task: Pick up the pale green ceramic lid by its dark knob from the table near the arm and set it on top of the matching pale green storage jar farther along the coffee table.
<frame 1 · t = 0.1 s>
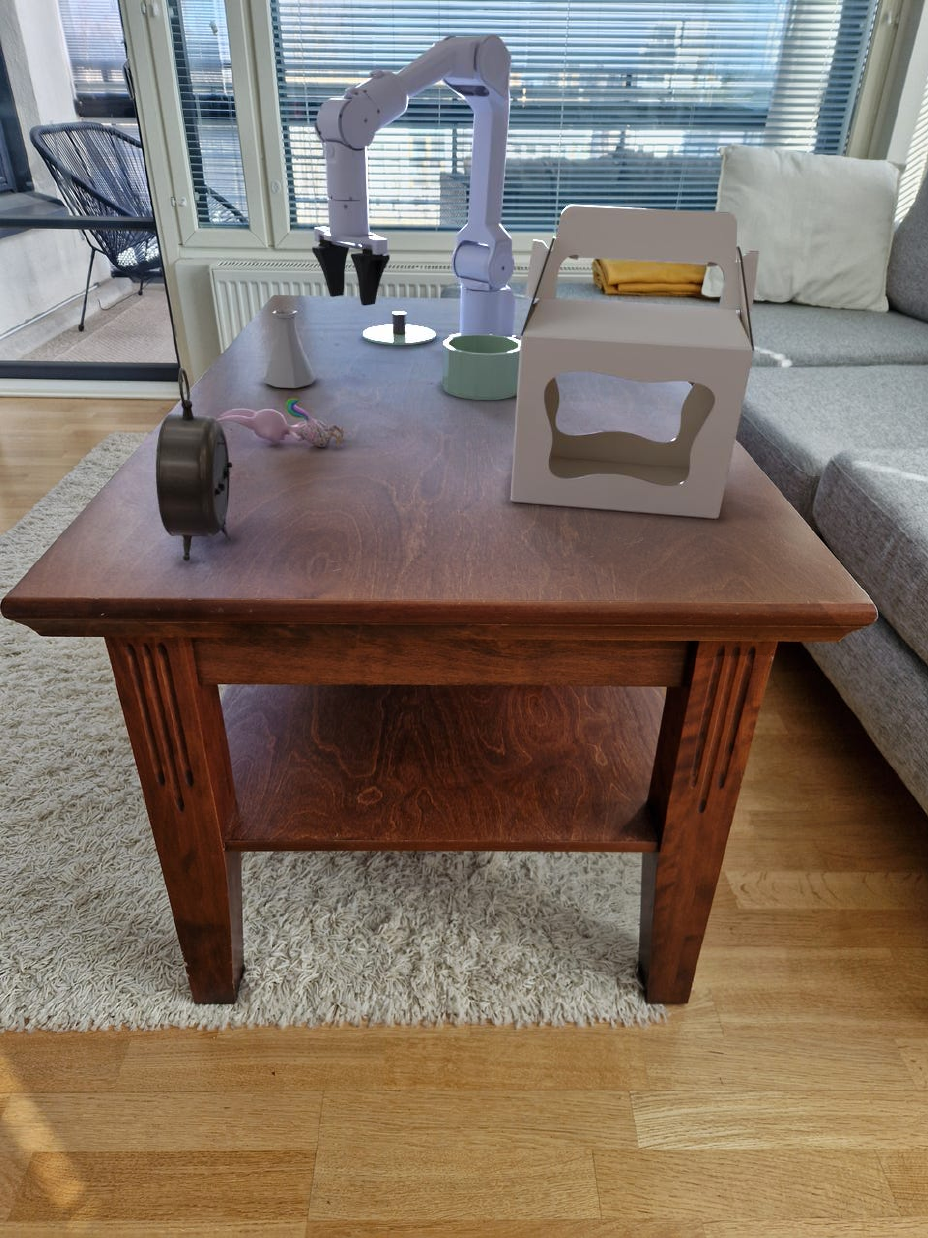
hand: (352, 299, 124), 10 cm above the table, tool pointing down, fingers open, 7 cm apart
flask: (290, 383, 122), on the table
alarm clock: (207, 541, 79), on the table
rabbit figure: (282, 444, 101), on the table
lid: (399, 335, 144), point 1 cm above the table
gable box: (611, 488, 92), on the table
jar: (481, 387, 122), on the table
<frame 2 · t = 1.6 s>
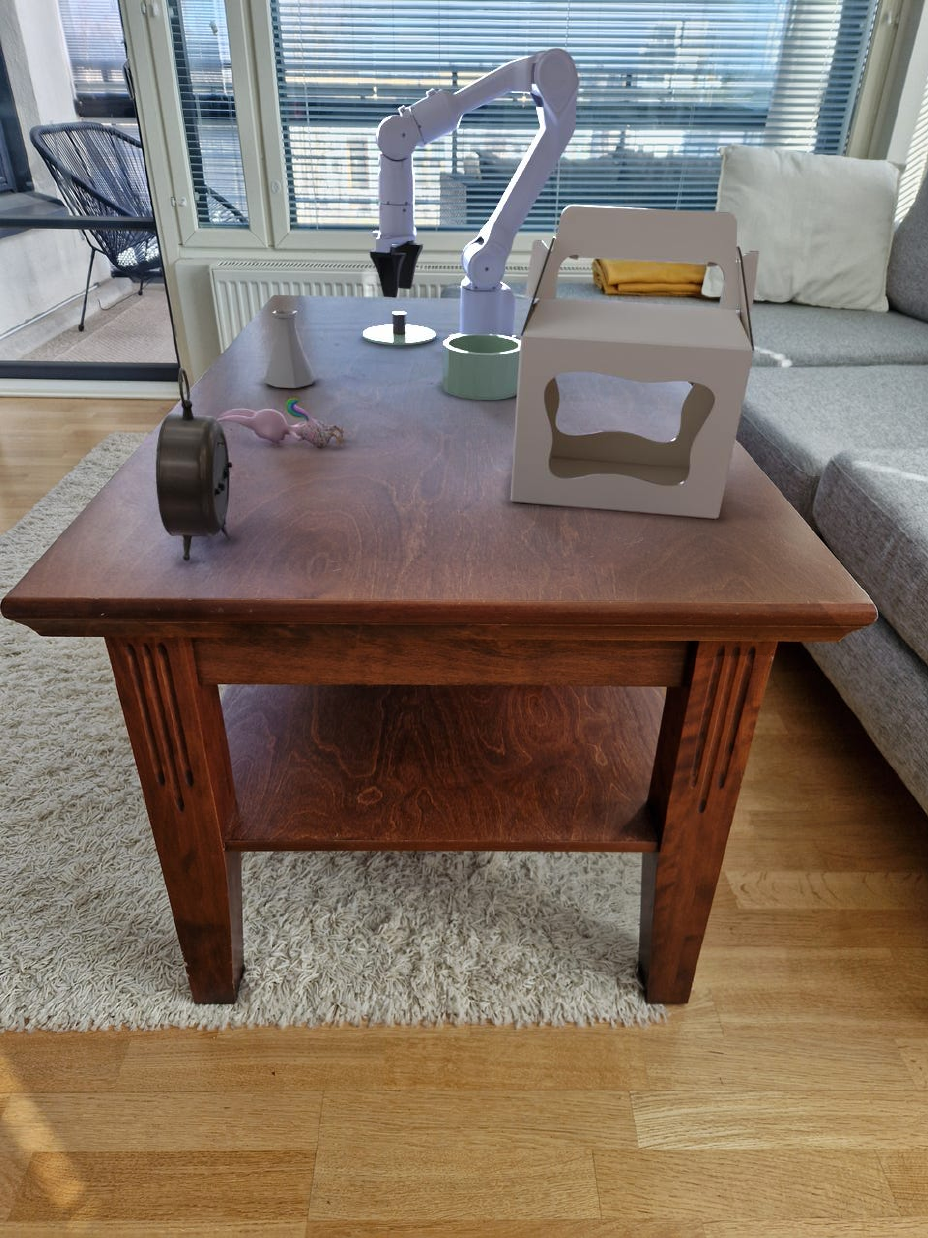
hand: (397, 292, 140), 8 cm above the table, tool pointing down, fingers open, 7 cm apart
nothing on the table moved.
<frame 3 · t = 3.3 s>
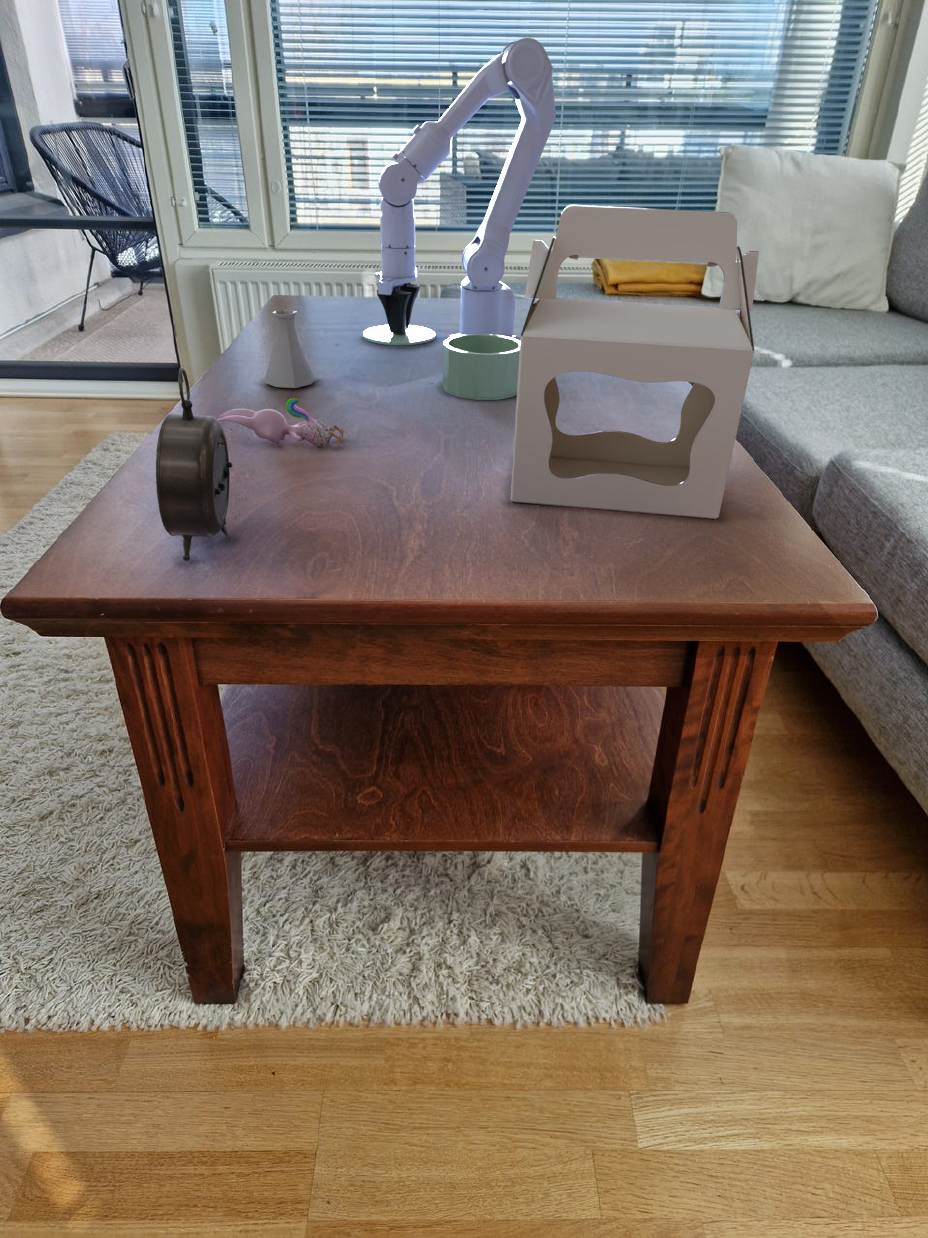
hand: (399, 330, 144), 2 cm above the table, tool pointing down, fingers closed on lid, 2 cm apart
lid: (399, 335, 144), point 1 cm above the table, touching gripper
everything else where it was.
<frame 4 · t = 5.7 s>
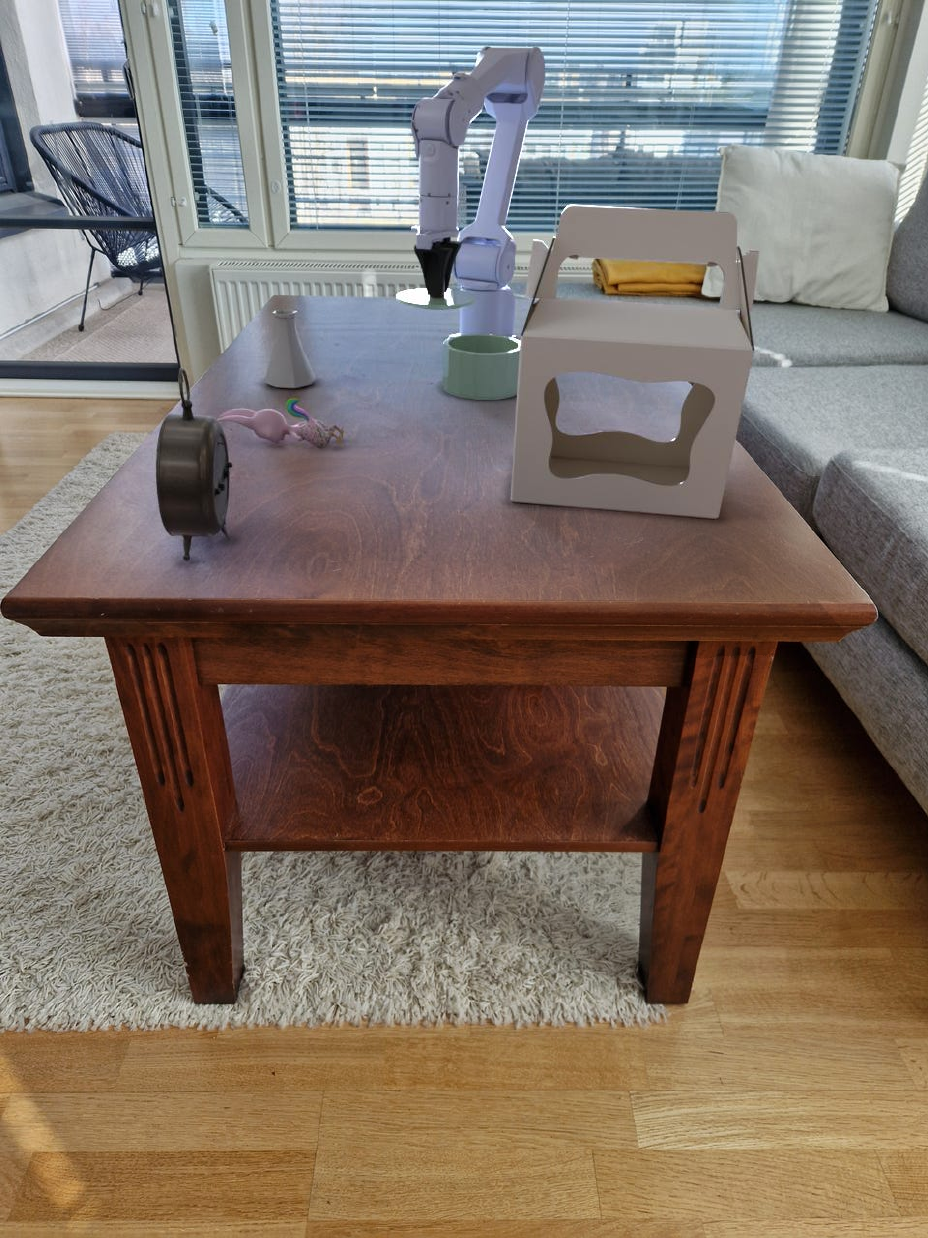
hand: (437, 293, 128), 10 cm above the table, tool pointing down, fingers closed on lid, 2 cm apart
lid: (436, 299, 128), point 10 cm above the table, touching gripper
everything else where it was.
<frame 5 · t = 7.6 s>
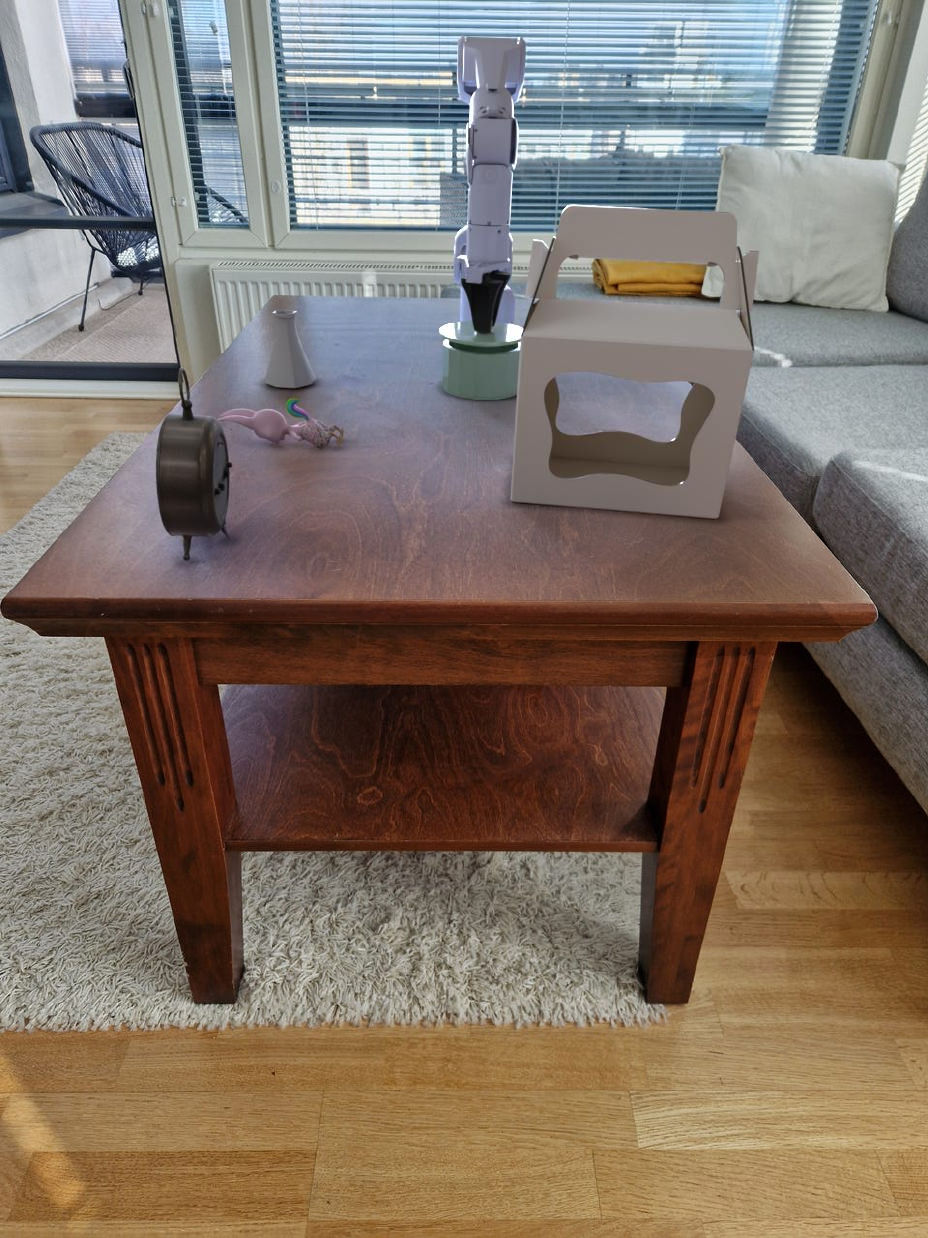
hand: (484, 328, 117), 9 cm above the table, tool pointing down, fingers closed on lid, 2 cm apart
lid: (483, 334, 118), point 8 cm above the table, touching gripper
everything else where it was.
when the fingers open (7 cm above the table, at t = 8.2 s): lid stays where it is, resting on jar.
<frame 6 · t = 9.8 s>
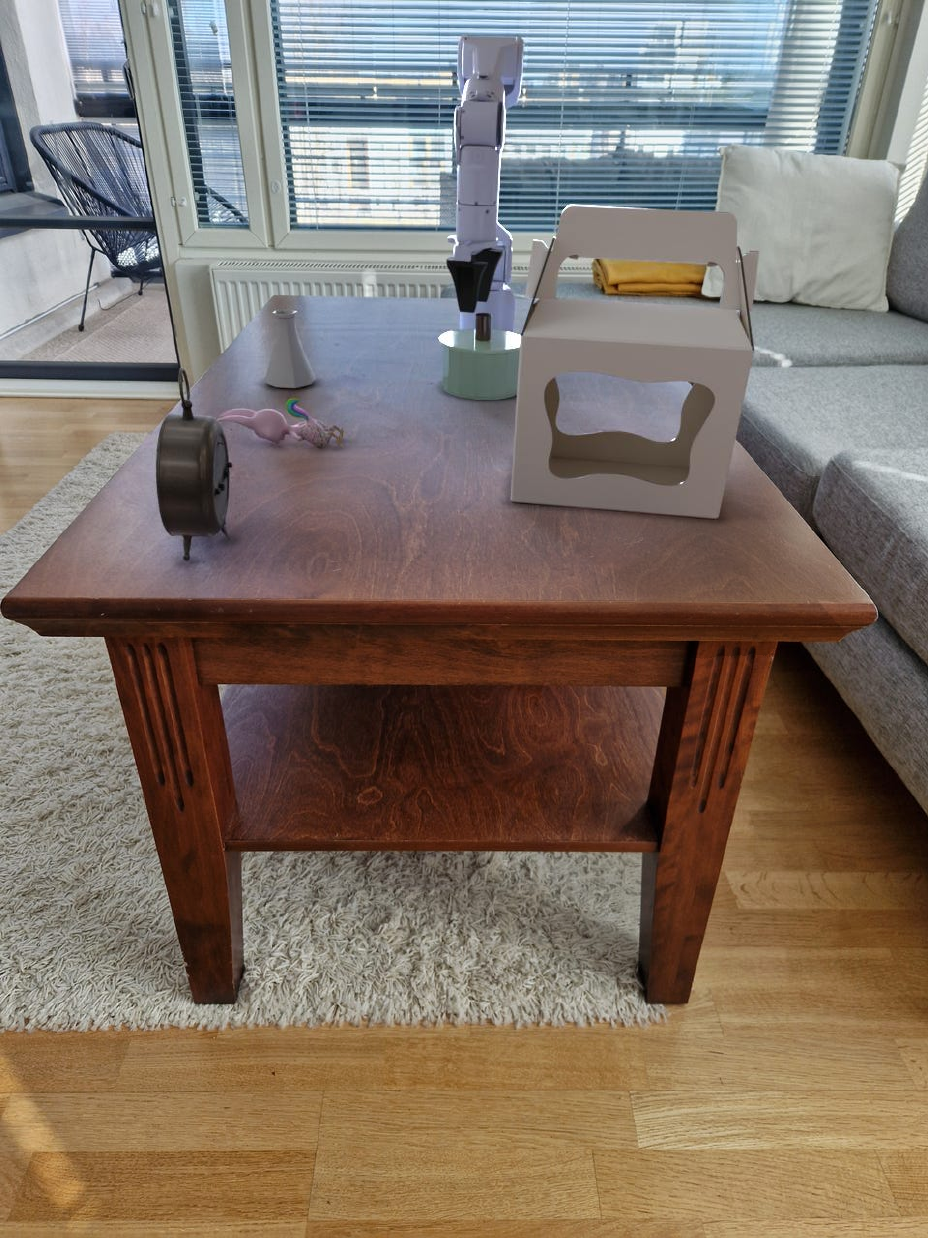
hand: (473, 306, 121), 10 cm above the table, tool pointing down, fingers open, 7 cm apart
lid: (482, 342, 119), point 6 cm above the table, touching jar
everything else where it was.
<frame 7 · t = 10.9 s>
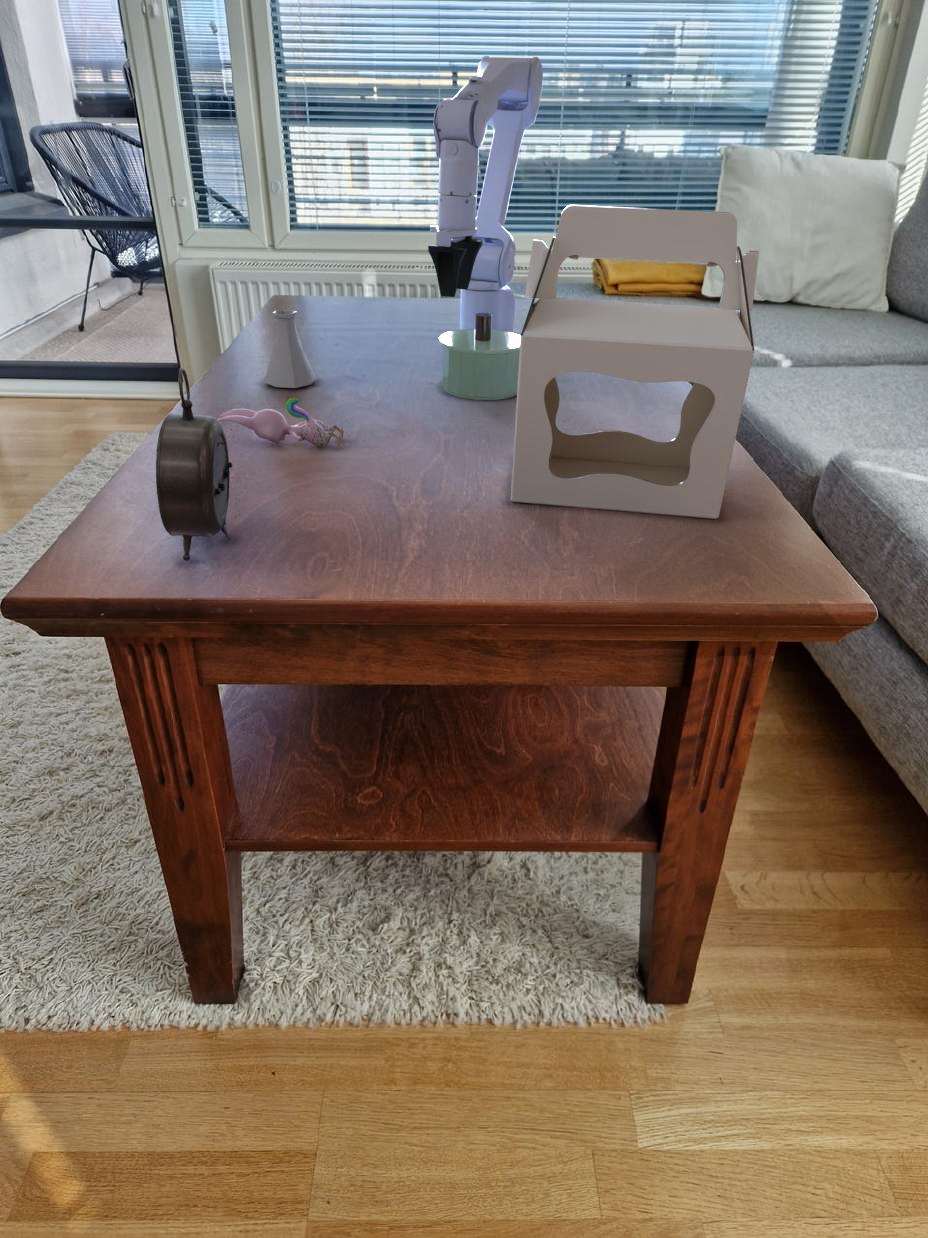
hand: (454, 292, 129), 10 cm above the table, tool pointing down, fingers open, 7 cm apart
nothing on the table moved.
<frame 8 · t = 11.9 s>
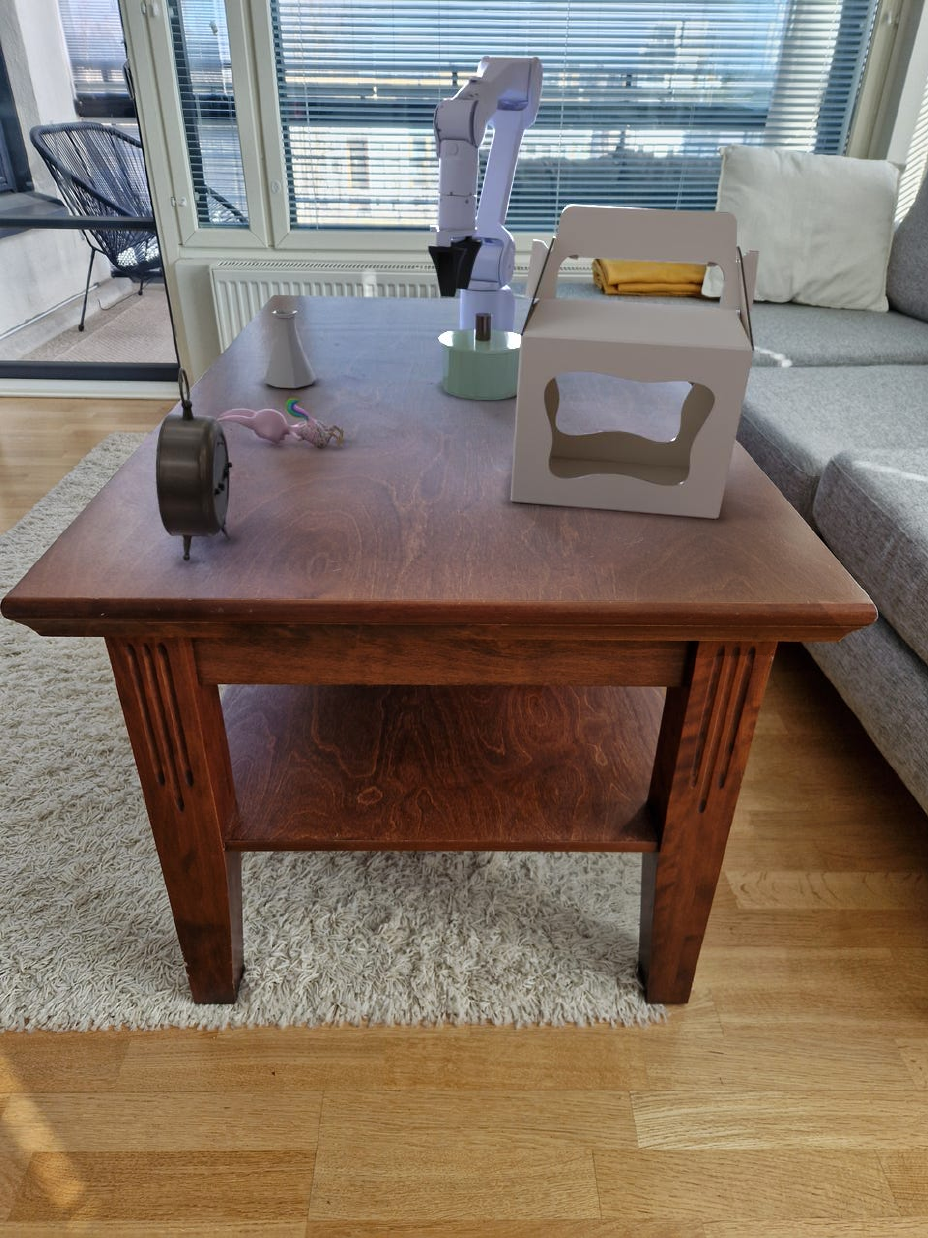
hand: (454, 292, 129), 10 cm above the table, tool pointing down, fingers open, 7 cm apart
nothing on the table moved.
at the end: lid 0.6 cm off-centre on the jar, point 6.4 cm above the jar's base; lid tilted 0°; the gripper is holding nothing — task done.
